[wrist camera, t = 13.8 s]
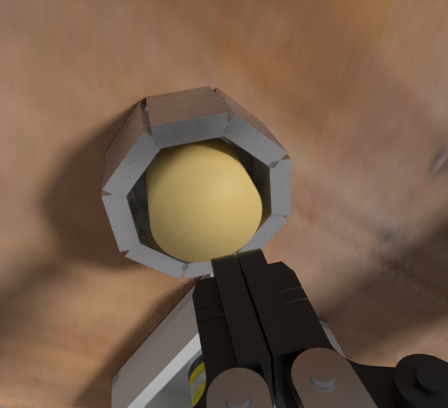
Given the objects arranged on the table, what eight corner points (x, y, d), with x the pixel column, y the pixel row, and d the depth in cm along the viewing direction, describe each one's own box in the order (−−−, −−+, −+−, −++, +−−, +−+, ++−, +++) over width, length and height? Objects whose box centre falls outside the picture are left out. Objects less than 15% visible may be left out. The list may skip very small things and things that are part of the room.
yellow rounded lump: (259, 164, 17) (284, 202, 14) (203, 231, 18) (216, 276, 15) (183, 113, 15) (195, 146, 12) (126, 191, 16) (127, 235, 13)
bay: (326, 322, 25) (347, 360, 23) (233, 407, 28) (243, 448, 26) (208, 268, 20) (220, 309, 18) (111, 377, 23) (111, 424, 21)
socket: (296, 147, 17) (325, 180, 15) (206, 252, 20) (218, 295, 17) (171, 53, 14) (182, 75, 12) (78, 191, 16) (71, 234, 14)
